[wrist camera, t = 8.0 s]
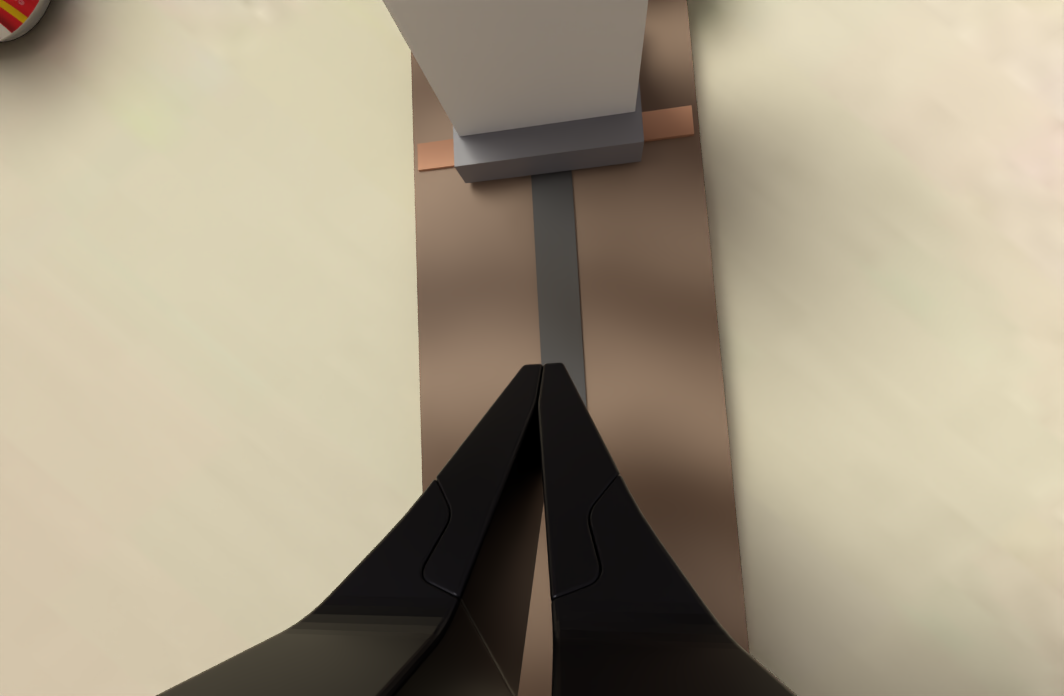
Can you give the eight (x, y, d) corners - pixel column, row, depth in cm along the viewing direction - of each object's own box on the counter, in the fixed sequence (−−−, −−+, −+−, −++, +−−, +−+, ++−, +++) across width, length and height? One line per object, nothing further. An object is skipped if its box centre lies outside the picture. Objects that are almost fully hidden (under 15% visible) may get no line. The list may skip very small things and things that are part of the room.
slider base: (744, 708, 14) (803, 840, 10) (441, 694, 16) (384, 802, 12) (674, -36, 17) (698, -175, 13) (421, 11, 18) (369, -100, 14)
